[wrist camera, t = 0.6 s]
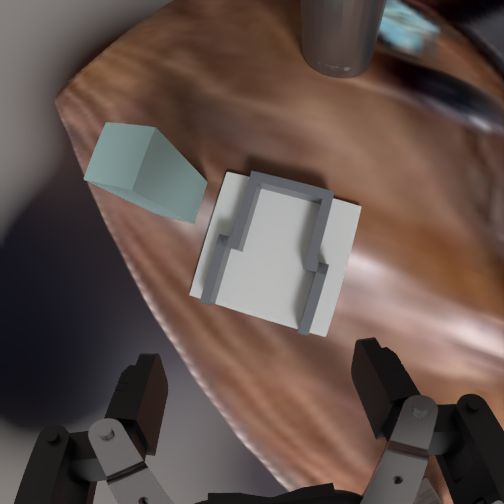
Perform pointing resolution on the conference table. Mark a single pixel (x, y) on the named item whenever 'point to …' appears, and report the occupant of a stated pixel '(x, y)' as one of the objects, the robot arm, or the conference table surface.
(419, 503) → the coffee box
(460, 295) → the conference table surface
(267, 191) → the keyhole guide
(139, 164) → the teal post
